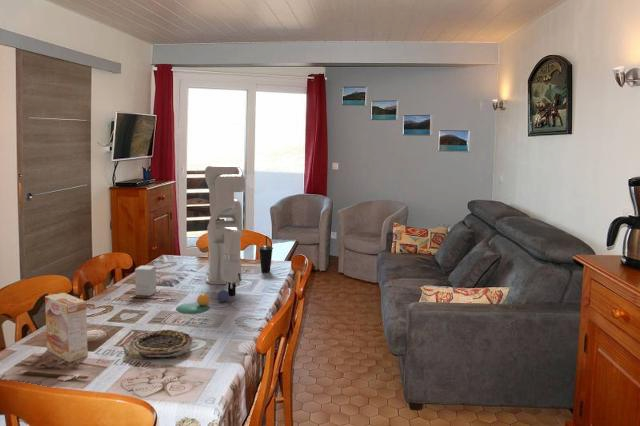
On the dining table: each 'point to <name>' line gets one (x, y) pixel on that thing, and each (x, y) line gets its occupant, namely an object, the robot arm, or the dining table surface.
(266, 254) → the drinking cup
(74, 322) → the coffeecake box
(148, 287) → the supplement box
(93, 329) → the dining table surface
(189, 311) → the green mark
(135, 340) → the woven basket
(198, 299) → the orange ball
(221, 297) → the dark blue ball
